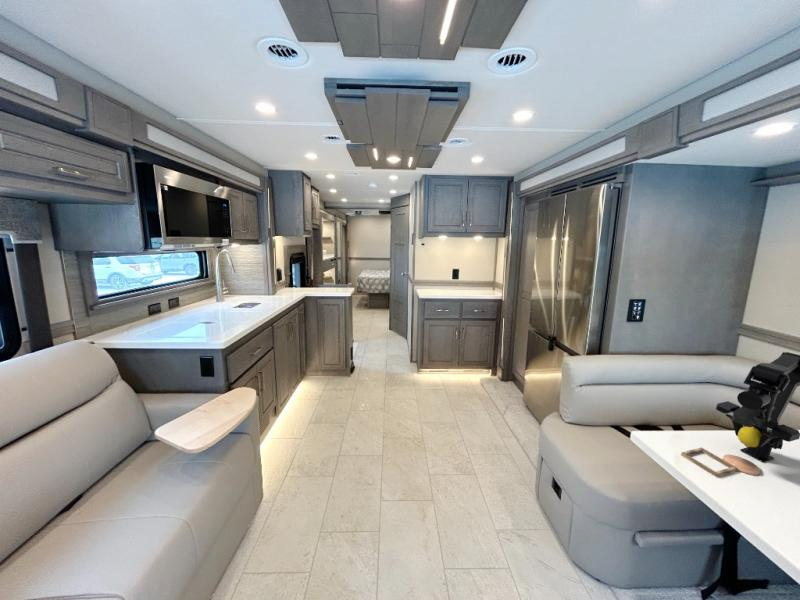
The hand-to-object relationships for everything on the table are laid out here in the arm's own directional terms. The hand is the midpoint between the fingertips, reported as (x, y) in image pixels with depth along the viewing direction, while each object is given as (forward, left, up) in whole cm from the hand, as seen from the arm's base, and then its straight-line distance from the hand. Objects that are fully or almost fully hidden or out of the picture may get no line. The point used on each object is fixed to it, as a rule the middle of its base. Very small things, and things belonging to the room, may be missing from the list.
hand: (748, 441), depth 107 cm
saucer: (0, 0, -10) cm, 10 cm away
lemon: (0, 0, -3) cm, 3 cm away
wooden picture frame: (+10, -4, -10) cm, 15 cm away
